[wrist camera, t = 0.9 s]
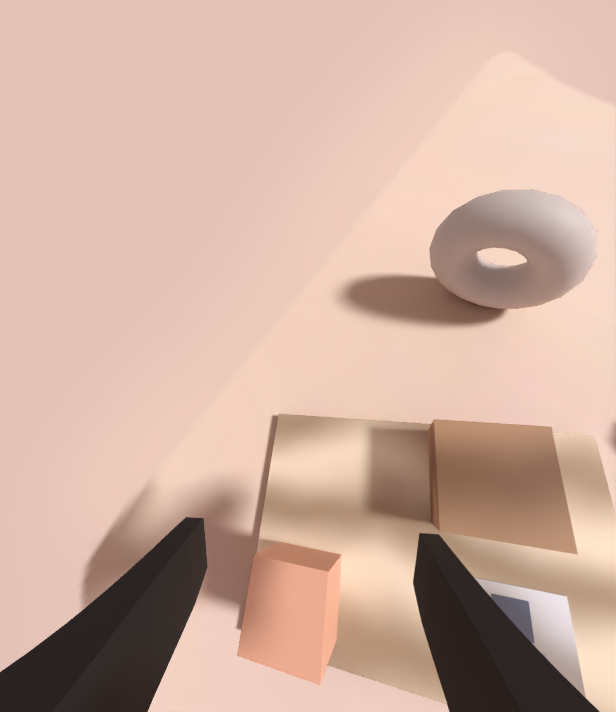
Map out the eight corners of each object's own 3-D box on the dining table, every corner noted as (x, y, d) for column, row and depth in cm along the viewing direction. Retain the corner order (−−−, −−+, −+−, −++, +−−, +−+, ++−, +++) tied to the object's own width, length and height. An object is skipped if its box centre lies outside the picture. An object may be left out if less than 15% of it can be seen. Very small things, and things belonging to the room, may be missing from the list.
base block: (540, 540, 17) (578, 554, 13) (431, 523, 19) (439, 531, 15) (522, 437, 19) (551, 426, 16) (427, 430, 21) (434, 419, 18)
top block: (336, 640, 18) (319, 684, 14) (269, 620, 19) (237, 655, 15) (341, 554, 19) (328, 571, 15) (280, 541, 21) (253, 554, 17)
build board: (670, 766, 13) (688, 785, 12) (247, 631, 20) (241, 638, 19) (587, 436, 19) (596, 434, 18) (281, 415, 25) (277, 413, 25)
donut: (417, 297, 27) (429, 204, 18) (432, 269, 27) (449, 167, 19) (543, 332, 22) (639, 234, 14) (556, 298, 23) (653, 184, 14)
